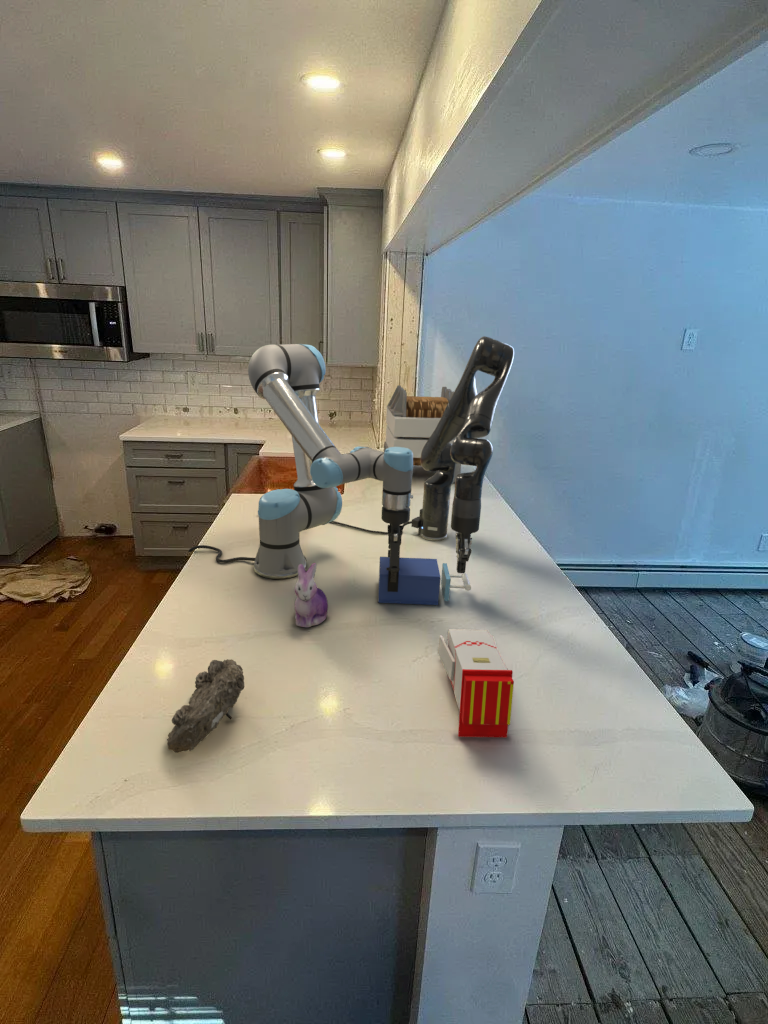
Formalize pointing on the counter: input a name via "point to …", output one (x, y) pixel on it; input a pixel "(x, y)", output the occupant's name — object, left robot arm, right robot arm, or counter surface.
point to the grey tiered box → (414, 421)
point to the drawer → (446, 581)
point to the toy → (478, 682)
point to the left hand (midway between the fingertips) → (392, 580)
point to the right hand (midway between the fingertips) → (460, 571)
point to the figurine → (309, 599)
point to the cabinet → (411, 582)
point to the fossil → (206, 705)
